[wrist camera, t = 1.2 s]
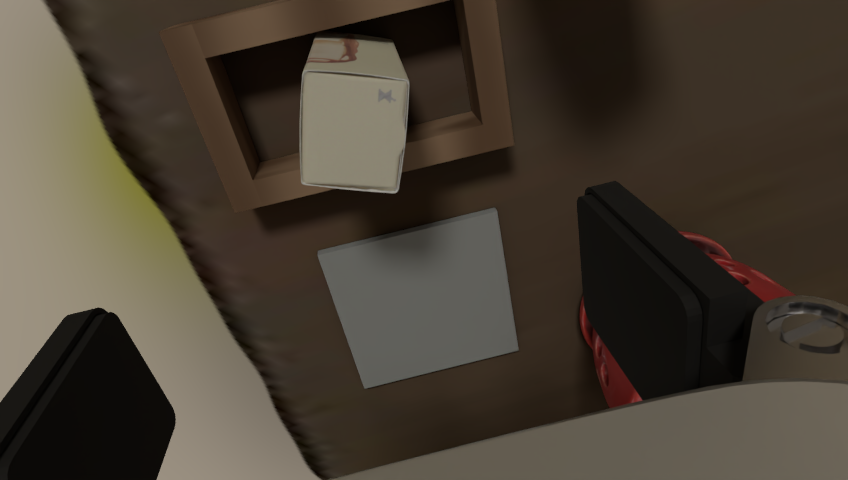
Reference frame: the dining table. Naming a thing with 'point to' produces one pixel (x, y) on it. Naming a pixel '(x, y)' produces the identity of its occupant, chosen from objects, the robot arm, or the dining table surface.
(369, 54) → the skincare box
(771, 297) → the plant pot
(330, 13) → the pocket block
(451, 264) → the mat
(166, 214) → the dining table surface
